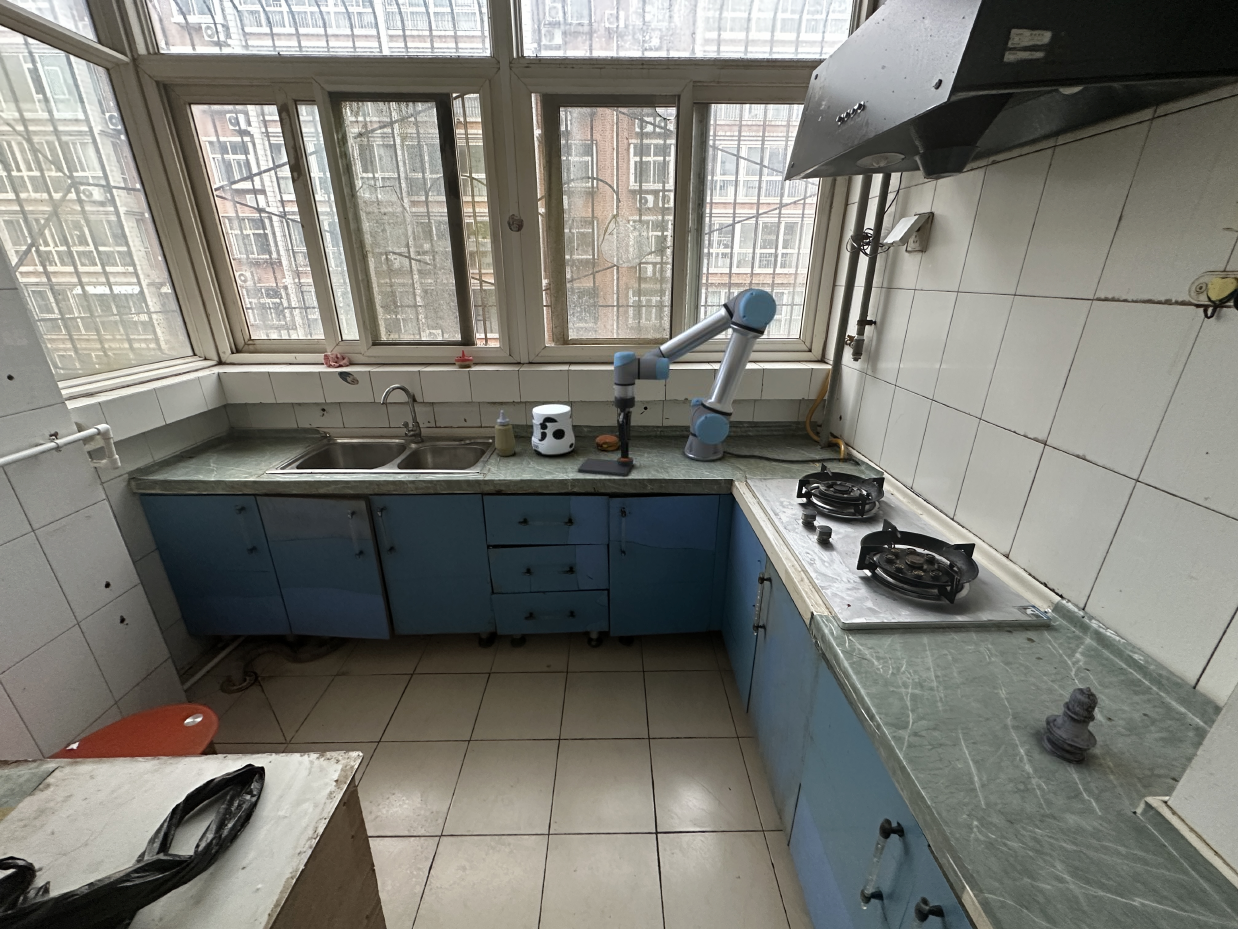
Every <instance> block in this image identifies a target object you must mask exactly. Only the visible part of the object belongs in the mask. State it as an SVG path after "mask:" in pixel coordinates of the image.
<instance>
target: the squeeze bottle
mask: <svg viewBox="0 0 1238 929" xmlns="http://www.w3.org/2000/svg"><path fill="white" fill-rule="evenodd" d="M494 447H495V449H496V451H497V454H498V455H499V456H502V457H508V456H512V455H513V454H514V452H515V448H516V440H515V435H514V430H513V425H512V424H511V423H510V419H509V418H507V417H506V414H505V411H504V410H500V413H499V418H498V419H496V425H495V426H494Z"/></svg>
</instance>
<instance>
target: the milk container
mask: <svg viewBox="0 0 1238 929" xmlns="http://www.w3.org/2000/svg"><path fill="white" fill-rule="evenodd" d="M531 412H532V417H531V418H532V436H531V445H532V449H533V451H534V452H535V453H537V454H539V455H543V456H551V457H553V456H562V455H566V454H568V453H570V452H572V451H573V450H574V448H575V442H576V440H575V439H576V437H575V434H574V431H573V424H572V422H573V420H572V419H573V418H572V409H571V407H570V406H569V405H565V404H558V403H557V404H555V403H554V404H544V405H543V404H542V405H538V406H535V407H534V408H532V411H531Z"/></svg>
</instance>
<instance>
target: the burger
mask: <svg viewBox="0 0 1238 929" xmlns="http://www.w3.org/2000/svg"><path fill="white" fill-rule="evenodd" d="M595 444H596V447H597V448H598V450H602V451H604V450H605V451H615V450H617V449H618V448H619V445H620V442H619V438H618V437H616V436H614V435H611V434H602V435H600V436H598V437H596V439H595Z"/></svg>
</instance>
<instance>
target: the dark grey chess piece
mask: <svg viewBox="0 0 1238 929" xmlns="http://www.w3.org/2000/svg"><path fill="white" fill-rule="evenodd" d="M1098 704H1099V699H1098V697H1097V695H1096V694H1095V693H1093V692H1092V688H1091V687H1090V686H1085V687H1075V688H1074V689H1072V691H1071V694H1070V695H1069V698H1068V700H1067V701H1065V702H1063V703H1062V707H1063V711H1062V714H1050V715H1047V716H1046V717H1045V720H1044V722H1045V727H1046V732H1045V733H1043V734H1042V735H1041V738H1040V740H1041V743H1042V745H1043V746H1044V748H1045V749H1046V751H1048V752H1050V753H1051V754H1052V755H1053V756H1055V757H1057V758H1058V759H1059V760H1062V761H1064V762H1067V763H1070V764H1076V765H1078V764H1079V765H1080V764H1084V763H1085V762H1086V761H1087V754H1086V752H1088V751H1090V750H1091V749H1093V748H1095V747H1096V746H1097V744H1098V740H1097V738H1096V735H1095V734H1094V733H1093V732H1092V730H1090V729H1089V726H1090V724H1091V723H1093V722H1095V720H1096V716H1095V714H1094V713H1095V710H1096V708H1097V706H1098Z"/></svg>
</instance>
